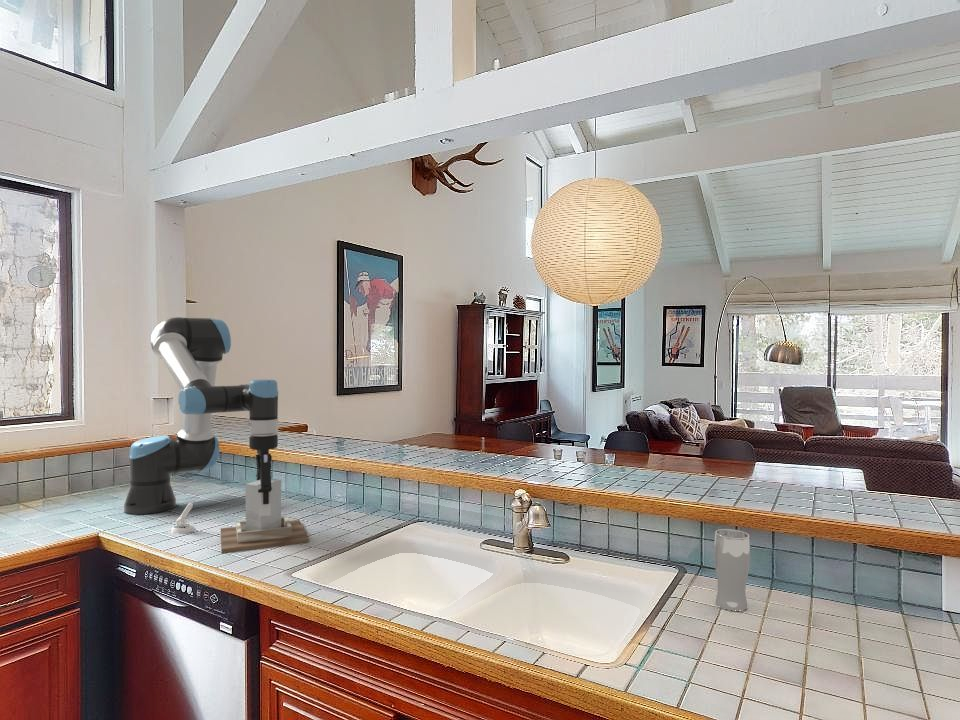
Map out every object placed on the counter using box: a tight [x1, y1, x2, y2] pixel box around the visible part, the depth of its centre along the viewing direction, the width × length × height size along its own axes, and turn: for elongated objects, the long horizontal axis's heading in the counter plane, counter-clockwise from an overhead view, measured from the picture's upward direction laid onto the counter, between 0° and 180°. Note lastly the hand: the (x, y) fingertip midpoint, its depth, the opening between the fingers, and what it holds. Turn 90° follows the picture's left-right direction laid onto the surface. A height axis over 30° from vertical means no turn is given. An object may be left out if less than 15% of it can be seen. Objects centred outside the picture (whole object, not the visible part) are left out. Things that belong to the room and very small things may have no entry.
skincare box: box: [245, 478, 282, 531], centre depth 167 cm, size 8×6×15 cm
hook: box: [170, 502, 196, 534], centre depth 173 cm, size 6×10×6 cm
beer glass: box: [713, 528, 751, 612], centre depth 123 cm, size 7×7×15 cm
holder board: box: [220, 515, 310, 554], centre depth 167 cm, size 20×22×4 cm
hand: (263, 509), depth 167 cm, fingers open, 13 cm apart
